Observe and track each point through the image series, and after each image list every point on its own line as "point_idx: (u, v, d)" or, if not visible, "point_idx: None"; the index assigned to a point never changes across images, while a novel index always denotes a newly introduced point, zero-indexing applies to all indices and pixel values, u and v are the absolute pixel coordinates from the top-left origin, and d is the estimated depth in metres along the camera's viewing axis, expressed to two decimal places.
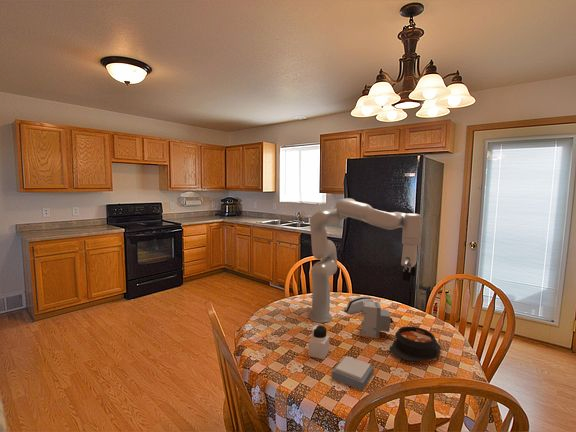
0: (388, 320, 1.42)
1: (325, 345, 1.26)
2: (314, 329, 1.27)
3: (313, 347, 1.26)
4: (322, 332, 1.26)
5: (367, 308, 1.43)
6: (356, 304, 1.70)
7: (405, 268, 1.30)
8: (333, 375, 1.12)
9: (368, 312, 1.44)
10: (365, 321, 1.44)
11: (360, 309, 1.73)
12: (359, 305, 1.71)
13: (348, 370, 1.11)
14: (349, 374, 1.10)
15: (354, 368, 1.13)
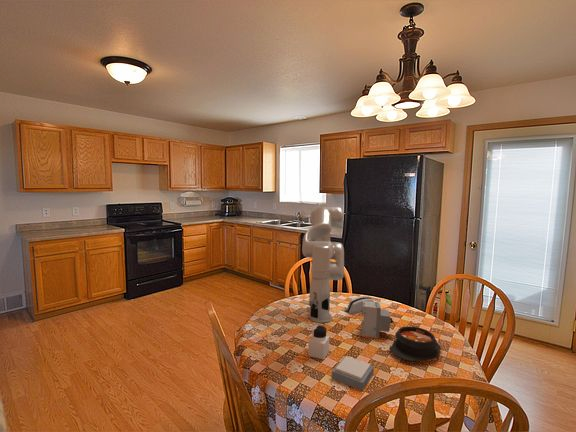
0: (388, 320, 1.42)
1: (325, 345, 1.26)
2: (314, 329, 1.27)
3: (313, 347, 1.26)
4: (322, 332, 1.26)
5: (367, 308, 1.43)
6: (357, 304, 1.70)
7: (310, 304, 1.21)
8: (333, 375, 1.12)
9: (368, 312, 1.44)
10: (365, 321, 1.44)
11: (361, 309, 1.73)
12: (360, 305, 1.71)
13: (348, 370, 1.11)
14: (349, 374, 1.10)
15: (354, 368, 1.13)
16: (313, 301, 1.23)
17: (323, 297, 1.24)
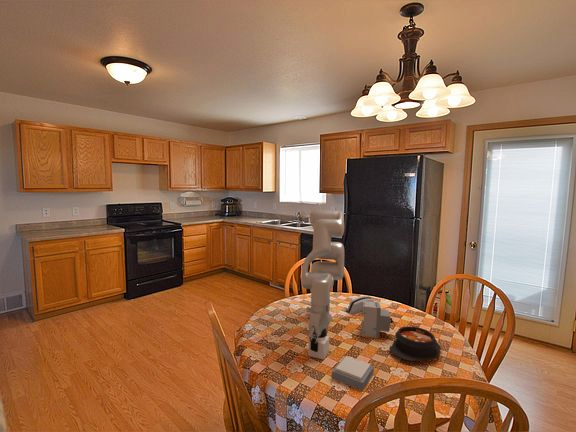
0: (388, 320, 1.42)
1: (325, 345, 1.26)
2: None
3: None
4: (322, 332, 1.26)
5: (367, 308, 1.43)
6: (358, 304, 1.70)
7: (310, 339, 1.23)
8: (333, 375, 1.12)
9: (368, 312, 1.44)
10: (365, 321, 1.44)
11: (361, 309, 1.73)
12: (361, 305, 1.71)
13: (348, 370, 1.11)
14: (349, 374, 1.10)
15: (354, 368, 1.13)
16: (312, 335, 1.25)
17: (322, 330, 1.26)
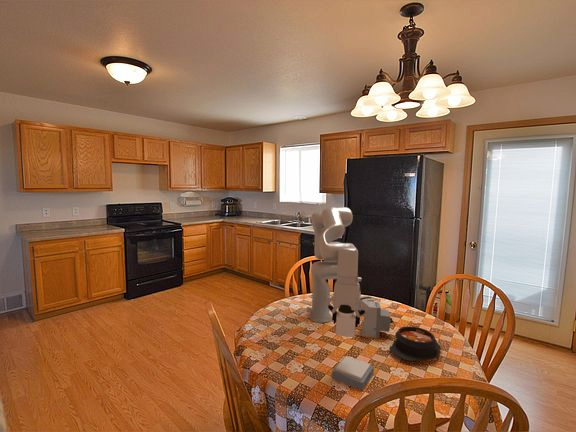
0: (388, 320, 1.42)
1: (340, 321, 1.12)
2: None
3: None
4: (340, 306, 1.13)
5: None
6: None
7: None
8: (333, 375, 1.12)
9: (368, 312, 1.44)
10: (365, 321, 1.44)
11: None
12: (361, 305, 1.71)
13: (348, 370, 1.11)
14: (349, 374, 1.10)
15: (354, 368, 1.13)
16: None
17: (341, 304, 1.13)
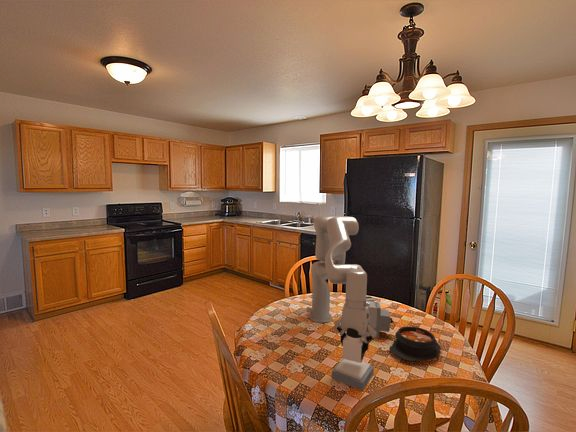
0: (388, 320, 1.42)
1: (346, 345, 1.11)
2: None
3: None
4: (347, 329, 1.11)
5: None
6: None
7: None
8: (333, 375, 1.12)
9: None
10: None
11: None
12: None
13: (348, 370, 1.11)
14: (349, 374, 1.10)
15: (354, 368, 1.13)
16: None
17: None
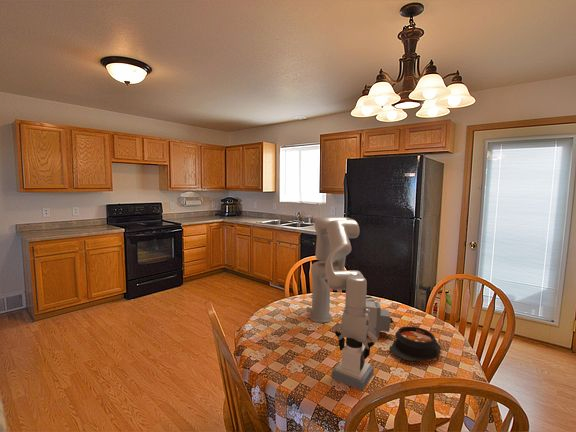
0: (388, 320, 1.42)
1: (346, 354, 1.11)
2: None
3: None
4: (347, 339, 1.12)
5: (367, 308, 1.43)
6: None
7: None
8: (333, 375, 1.12)
9: None
10: None
11: None
12: None
13: (348, 370, 1.11)
14: (349, 374, 1.10)
15: None
16: None
17: (348, 334, 1.12)
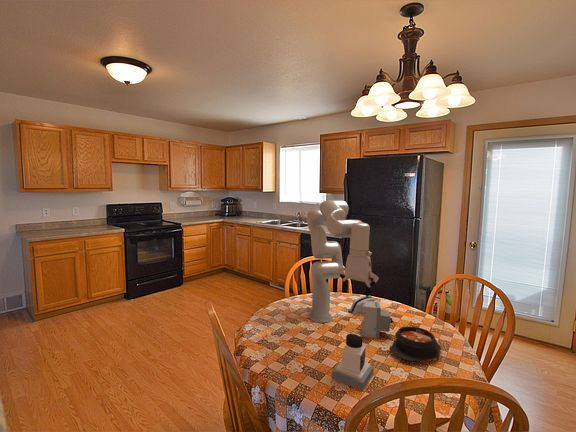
0: (388, 320, 1.42)
1: (345, 354, 1.11)
2: (350, 333, 1.15)
3: None
4: (347, 339, 1.12)
5: (367, 308, 1.43)
6: (361, 304, 1.70)
7: None
8: (333, 375, 1.12)
9: (368, 312, 1.44)
10: (365, 321, 1.44)
11: None
12: None
13: (348, 370, 1.11)
14: (349, 374, 1.10)
15: None
16: None
17: (352, 275, 1.23)
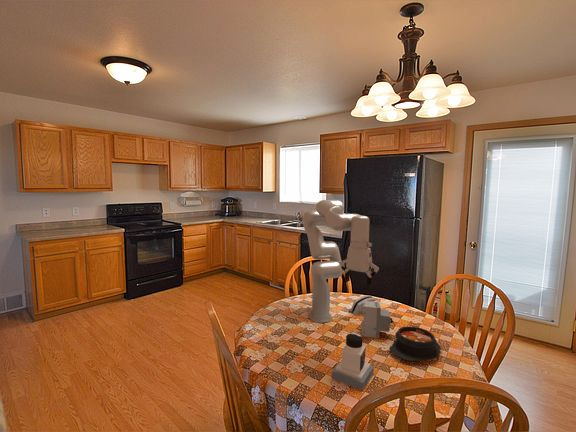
0: (388, 320, 1.42)
1: (345, 354, 1.11)
2: (350, 333, 1.15)
3: None
4: (347, 339, 1.12)
5: (367, 308, 1.43)
6: None
7: None
8: (333, 375, 1.12)
9: (368, 312, 1.44)
10: (365, 321, 1.44)
11: None
12: None
13: (348, 370, 1.11)
14: (349, 374, 1.10)
15: None
16: None
17: (353, 266, 1.28)
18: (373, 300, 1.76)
